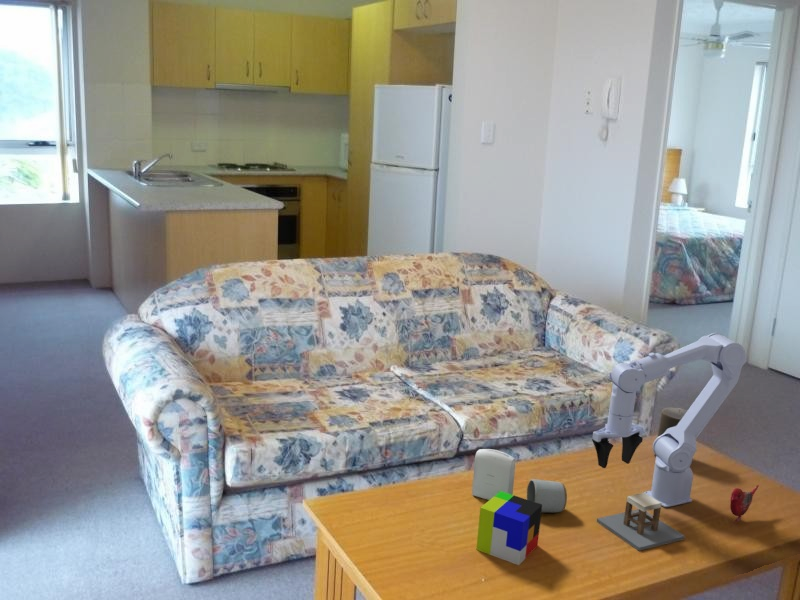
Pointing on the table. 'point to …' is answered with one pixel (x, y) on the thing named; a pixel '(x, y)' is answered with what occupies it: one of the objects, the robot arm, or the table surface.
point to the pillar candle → (670, 419)
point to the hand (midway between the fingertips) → (613, 464)
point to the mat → (637, 541)
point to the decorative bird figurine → (741, 502)
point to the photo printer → (492, 473)
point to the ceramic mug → (547, 495)
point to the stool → (642, 511)
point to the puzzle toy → (509, 527)
